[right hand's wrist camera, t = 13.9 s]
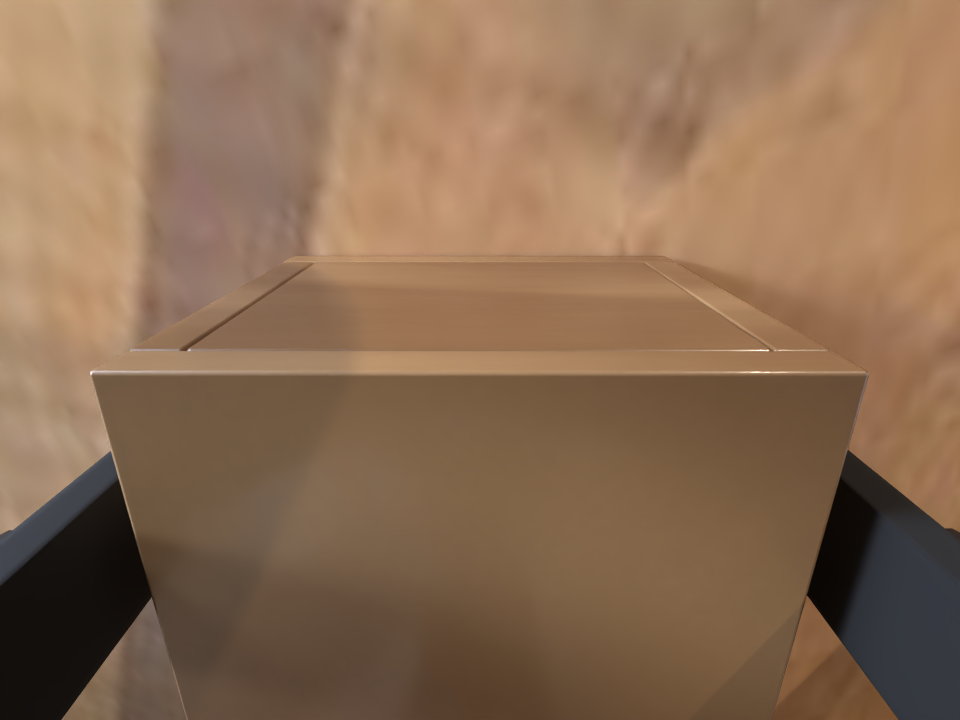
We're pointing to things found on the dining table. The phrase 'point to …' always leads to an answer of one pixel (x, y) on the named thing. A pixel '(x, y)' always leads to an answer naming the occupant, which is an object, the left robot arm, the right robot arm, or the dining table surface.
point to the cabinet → (479, 490)
